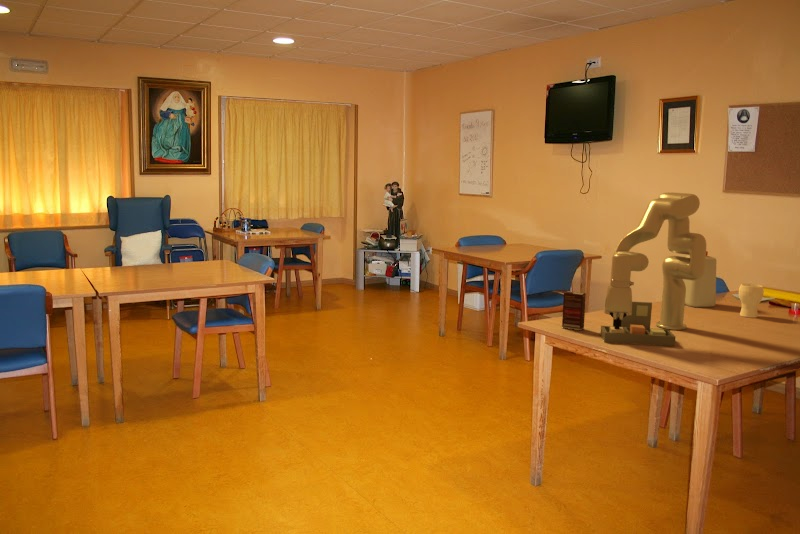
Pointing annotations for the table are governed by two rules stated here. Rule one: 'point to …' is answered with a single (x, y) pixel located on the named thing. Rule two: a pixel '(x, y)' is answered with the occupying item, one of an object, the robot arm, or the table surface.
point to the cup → (750, 299)
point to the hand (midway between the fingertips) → (616, 328)
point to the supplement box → (573, 310)
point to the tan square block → (616, 330)
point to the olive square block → (657, 332)
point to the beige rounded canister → (702, 286)
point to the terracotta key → (637, 329)
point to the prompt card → (638, 315)
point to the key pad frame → (637, 337)
